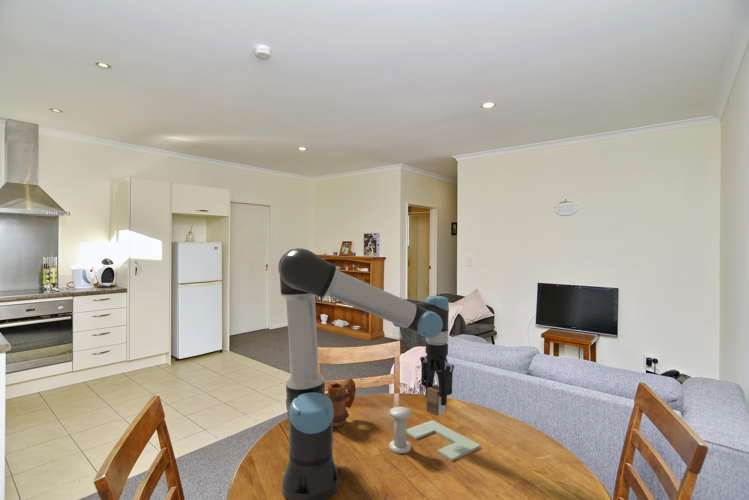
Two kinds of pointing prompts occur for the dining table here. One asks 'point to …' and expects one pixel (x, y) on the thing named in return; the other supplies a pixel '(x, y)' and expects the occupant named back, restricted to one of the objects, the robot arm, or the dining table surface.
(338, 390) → the mug
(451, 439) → the notched board
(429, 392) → the block
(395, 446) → the knob
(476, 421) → the dining table surface
